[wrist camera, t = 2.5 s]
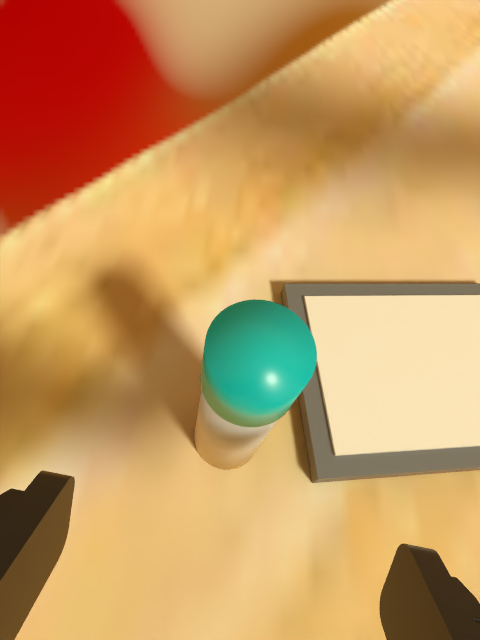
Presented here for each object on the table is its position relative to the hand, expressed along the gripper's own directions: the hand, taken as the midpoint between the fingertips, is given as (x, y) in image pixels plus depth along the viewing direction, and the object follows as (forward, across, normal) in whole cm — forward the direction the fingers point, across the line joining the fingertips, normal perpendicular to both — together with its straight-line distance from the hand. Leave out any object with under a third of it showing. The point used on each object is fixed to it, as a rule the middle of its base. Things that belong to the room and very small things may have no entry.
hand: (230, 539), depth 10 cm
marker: (+11, 0, +3) cm, 11 cm away
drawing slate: (+15, -10, -1) cm, 18 cm away
